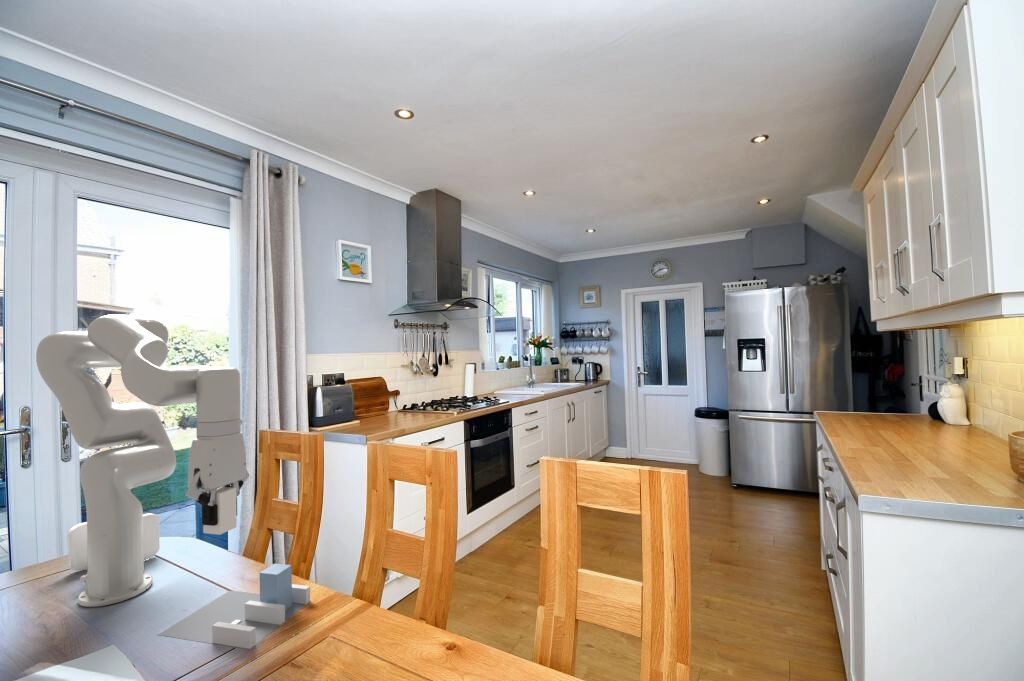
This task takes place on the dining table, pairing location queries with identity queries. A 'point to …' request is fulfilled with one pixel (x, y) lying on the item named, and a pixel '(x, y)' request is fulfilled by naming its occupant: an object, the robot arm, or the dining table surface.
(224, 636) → the comb board
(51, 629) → the dining table surface
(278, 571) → the blue plug
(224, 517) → the off-white plug
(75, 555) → the cable organizer
